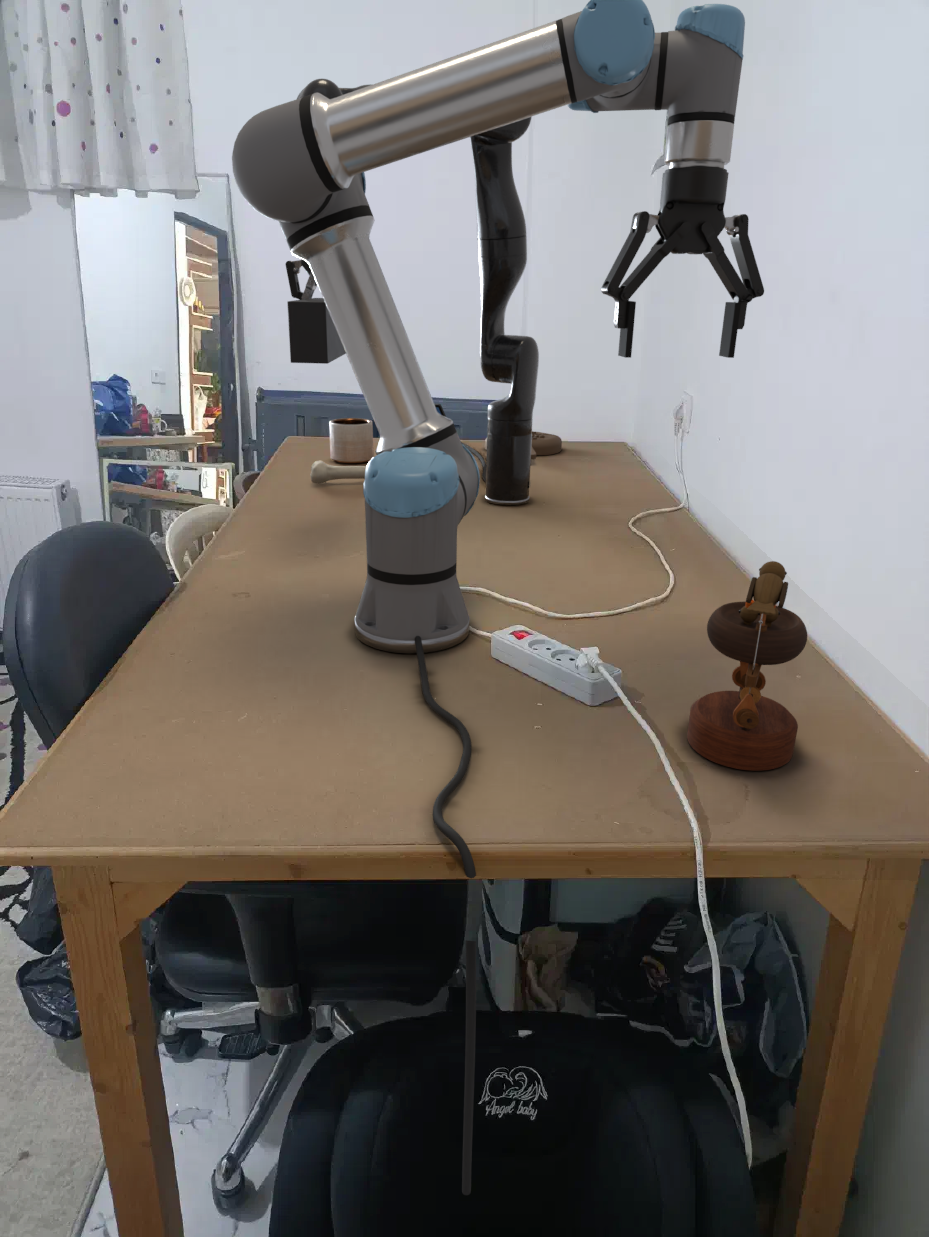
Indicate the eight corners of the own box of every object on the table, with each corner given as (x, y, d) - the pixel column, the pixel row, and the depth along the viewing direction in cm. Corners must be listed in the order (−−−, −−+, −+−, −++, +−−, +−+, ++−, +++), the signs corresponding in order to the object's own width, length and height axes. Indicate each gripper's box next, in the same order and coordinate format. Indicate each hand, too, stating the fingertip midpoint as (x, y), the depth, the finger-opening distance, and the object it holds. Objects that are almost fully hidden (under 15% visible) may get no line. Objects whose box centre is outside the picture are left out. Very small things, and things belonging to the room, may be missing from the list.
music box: (815, 783, 80) (835, 585, 73) (696, 783, 82) (704, 589, 74) (778, 707, 94) (791, 534, 87) (677, 708, 96) (682, 538, 88)
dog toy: (399, 478, 195) (399, 457, 193) (401, 484, 190) (401, 462, 188) (310, 480, 192) (309, 458, 190) (310, 486, 187) (309, 464, 185)
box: (327, 363, 133) (325, 302, 130) (290, 362, 133) (287, 301, 130) (349, 351, 154) (348, 298, 151) (317, 350, 154) (315, 297, 151)
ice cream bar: (490, 464, 211) (490, 447, 209) (483, 443, 237) (483, 428, 235) (573, 465, 212) (575, 448, 210) (557, 444, 238) (558, 429, 236)
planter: (327, 456, 217) (325, 418, 214) (369, 454, 220) (368, 417, 217) (334, 465, 208) (332, 425, 204) (377, 463, 211) (376, 424, 207)
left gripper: (779, 174, 104) (753, 354, 112) (584, 167, 100) (572, 353, 109) (811, 168, 97) (782, 359, 106) (603, 160, 94) (589, 359, 102)
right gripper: (370, 222, 146) (372, 325, 152) (287, 220, 146) (292, 323, 152) (364, 219, 139) (366, 327, 145) (277, 217, 139) (283, 325, 146)
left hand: (675, 357), depth 107 cm, fingers open, 13 cm apart
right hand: (328, 325), depth 149 cm, fingers closed on box, 6 cm apart
